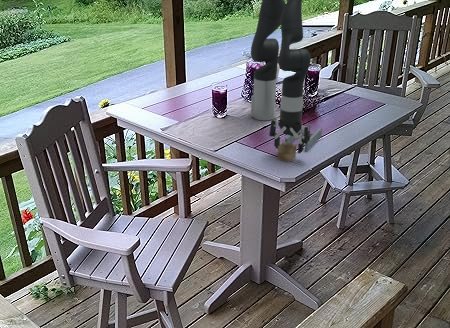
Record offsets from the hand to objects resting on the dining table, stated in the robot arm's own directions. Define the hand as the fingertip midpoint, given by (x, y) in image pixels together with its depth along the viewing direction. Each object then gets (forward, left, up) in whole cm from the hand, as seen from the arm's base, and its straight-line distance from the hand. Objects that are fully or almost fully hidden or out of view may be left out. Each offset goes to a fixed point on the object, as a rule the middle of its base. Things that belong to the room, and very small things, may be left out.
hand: (288, 150), depth 184 cm
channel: (0, +16, -3) cm, 16 cm away
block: (0, -1, -3) cm, 3 cm away
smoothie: (-39, +77, -3) cm, 86 cm away
